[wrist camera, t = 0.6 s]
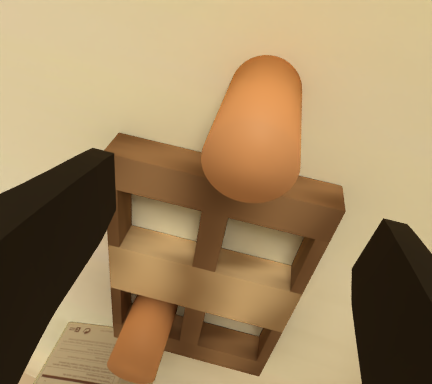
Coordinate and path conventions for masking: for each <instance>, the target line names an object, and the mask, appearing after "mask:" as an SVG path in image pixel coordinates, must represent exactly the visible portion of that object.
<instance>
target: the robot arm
mask: <svg viewBox="0 0 432 384" xmlns="http://www.w3.org/2000/svg"><path fill="white" fill-rule="evenodd" d="M115 211H116V187H115V160H114V153H112V152H107V151H103V150H99V149H95V148H91V149H89V150H87V151H85V152H83V153H81V154H79V155H77V156H75V157H73V158H71V159H69V160H67V161H65V162H64V163H62V164H60V165H58V166H56V167H54V168H52V169H50V170H48V171H46V172H44V173H42V174H40V175H38V176H36V177H34V178H32V179H30V180H28V181H27V182H25V183H23V184H20V185H18V186H16V187H14V188H12V189H10V190H7V191H5V192H3V193H1V194H0V384H18V383H19V381H20V378H21V376H22V374H23V372H24V370H25V368H26V366H27V364H28V362H29V360H30V358H31V356H32V354H33V352H34V350H35V349H36V347H37V345H38V343H39V341H40V339H41V337H42V335H43V333H44V331H45V329H46V327H47V325H48V324H49V322H50V320H51V318H52V317H53V315H54V313H55V312H56V310H57V308H58V307H59V305H60V304H61V302H62V301H63V299H64V297H65V296H66V294H67V293H68V291H69V290H70V288H71V287H72V285H73V284H74V282H75V281H76V279H77V278H78V276H79V275H80V273H81V271H82V270H83V268H84V267H85V265H86V264H87V262H88V261H89V259H90V258H91V256H92V255H93V253H94V251H95V250H96V248H97V247H98V245H99V244H100V242H101V240H102V239H103V236H104V234H105V232H106V230H107V228H108V226H109V224H110V222H111V220H112V218H113V215H114V213H115ZM351 290H352V311H353V320H354V327H355V335H356V343H357V350H358V357H359V365H360V372H361V379H362V384H432V254H431V252H430V251H429V250H428V249H427V247H426V246H425V245H424V244H423V242H422V241H421V240H420V239H419V237H418V236H417V235H416V234H415V233H414V231H413V230H412V229H411V228H410V227H409V226H408V225H407V224H404V223H400V222H396V221H392V220H388V219H384V218H383V220H382V221H381V223H380V224H379V226H378V228H377V229H376V231H375V232H374V234H373V236H372V237H371V239H370V240H369V242H368V244H367V245H366V247H365V248H364V250H363V252H362V253H361V255H360V256H359V258H358V260H357V261H356V263H355V264H354V266H353V268H352V287H351Z"/></svg>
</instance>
